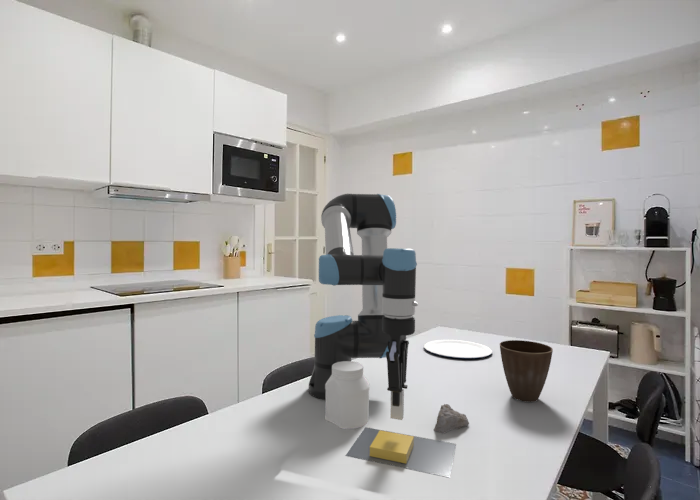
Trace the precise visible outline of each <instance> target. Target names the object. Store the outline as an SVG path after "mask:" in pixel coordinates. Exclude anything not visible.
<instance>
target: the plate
mask: <svg viewBox="0 0 700 500" xmlns="http://www.w3.org/2000/svg"><path fill="white" fill-rule="evenodd" d="M423 348H424V349H425V351H427V352H429V353H431V354H433V355H434V354H435V355H438V356H442V357H447V358H453V359H455V358H456V359H465V360H466V359H468V360H469V359H481V358H485V357H486V358H487V357H489V356H491V355H492V354H493V350H492V349H491V348H490V347H489V346H487V345H484V344H481V343H477V342H473V341H470V340H469V341H468V340H460V339H436V340H430V341H428V342H426V343H425V344H424V345H423Z"/></svg>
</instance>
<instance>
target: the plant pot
mask: <svg viewBox="0 0 700 500" xmlns="http://www.w3.org/2000/svg"><path fill="white" fill-rule="evenodd" d="M499 350H500V357H501V363H502V368H503V372H504V377H505V380H506V383H507V386H508V388H509V392H510V394H511V397H512V398H513V399H515V400H517V401H520V402H524V403H534V402H537V401H538V400H539V398H540V395H541V394H542V392H543V390H544V386H545V384H546V380H547V377H548V375H549V370H550V367H551V362H552V356H553V352H554V351H553V347H552V346H550V345H548V344H543V343H541V342H536V341H530V340H520V339H519V340H518V339H517V340H516V339H515V340H514V339H512V340H504V341H501V342H500V343H499Z"/></svg>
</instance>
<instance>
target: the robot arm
mask: <svg viewBox="0 0 700 500" xmlns="http://www.w3.org/2000/svg"><path fill="white" fill-rule="evenodd" d="M395 205H396V204H395V202H394V200H393V198H392V196H390V195H389V194H380V193H376V194H375V193H374V194H370V193H344V194H340V195H338V196H336V197H335V196H334V198H332V199H331V200H330V201H329V202H327V204H326V205H325V206H324V208H323V209H322V211H321V217H320V218H321V221H320V222H321V225H322V226H323V229H324V242H325V243H324V244H325V246H324V247H325V254H322V255H320V256H319V257H318V283H320V284H321V285H327V286H328V285H329V286H330V285H332V286H361V287H362V290H361V291H362V292H361V293H362V294H361V297H362V299H361V300H362V301H361V302H362V309H361V311H360V312H358V314H357V320H353V318H352V316H350V315H347V314H346V315H340V314H339V315H338V314H337V315H331V316H327V317H324V318H323V317H322V318H321V319H319V320H318V321H317V322H316V323H315V327H314V334H313V338H314V364H313V365H314V366H313V370H312V373H311V376H310V379H309V382H308V394H310V395H311V396H312V397H315V398H316V399H317V398H318V399H322V400H326V389H325V384H326V382H327V381H328V379H329V378H330V376H331V375H332V365H333V364H334V363H337V362H342V361H352V359H382V358H383V359H386V363H387V364H386V368H387V383H388V384H387V385H388V386H387V388H386V390H387V391H389V392H390V419H394V420H398V421H403V419H404V418H405V417H404V413H405V412H404V411H405V409H404V405H405V404H404V403H405V400H404V399H405V390H407V389H408V384H406V383H407V371H408V370H407V366H408V354H409V353H408V352H409V351H408V350H409V344H410V341H409V340H408V339H407V336H412V335H413V334H414V333H415V331H416V318H415V317H414V315H416V307H418V306H419V303H418V302H417V301H415V300H416V288H417V287H416V281H417V280H416V278H417V277H416V275H417V266H418V264H417V253H416V250H415V249H413V248H401V247H400V248H397V247H396V248H388V237H389V236H390V235H392V230H393V229H395V228H396V226H397V211H396V210H397V209H396V206H395ZM350 229H356V234H357V235H358V237H359V238H360V239H361V255H357V254H355V253H354V247H353V240H352V235H351V230H350Z"/></svg>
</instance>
